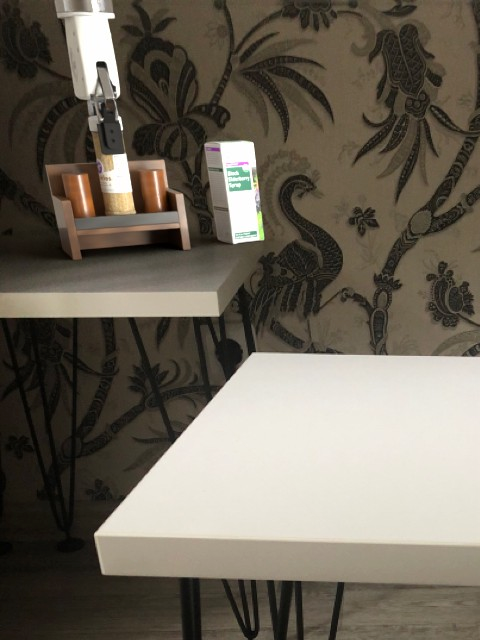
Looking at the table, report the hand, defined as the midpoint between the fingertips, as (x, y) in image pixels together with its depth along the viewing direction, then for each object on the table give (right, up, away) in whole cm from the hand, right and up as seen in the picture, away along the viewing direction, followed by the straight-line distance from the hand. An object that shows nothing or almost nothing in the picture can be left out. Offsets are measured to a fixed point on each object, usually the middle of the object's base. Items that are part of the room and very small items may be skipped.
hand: (109, 151), depth 134 cm
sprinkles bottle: (0, -8, +4) cm, 9 cm away
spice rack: (0, -12, +7) cm, 14 cm away
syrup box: (+16, -8, +14) cm, 23 cm away
